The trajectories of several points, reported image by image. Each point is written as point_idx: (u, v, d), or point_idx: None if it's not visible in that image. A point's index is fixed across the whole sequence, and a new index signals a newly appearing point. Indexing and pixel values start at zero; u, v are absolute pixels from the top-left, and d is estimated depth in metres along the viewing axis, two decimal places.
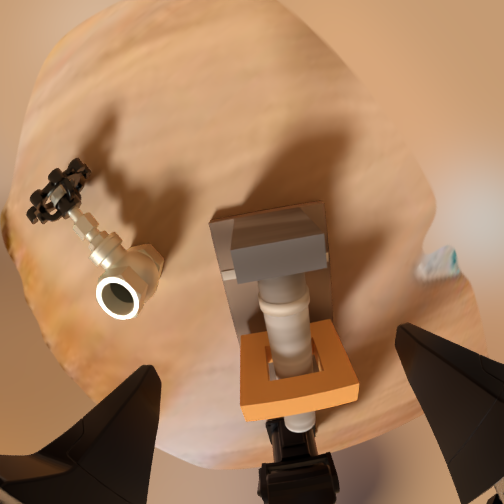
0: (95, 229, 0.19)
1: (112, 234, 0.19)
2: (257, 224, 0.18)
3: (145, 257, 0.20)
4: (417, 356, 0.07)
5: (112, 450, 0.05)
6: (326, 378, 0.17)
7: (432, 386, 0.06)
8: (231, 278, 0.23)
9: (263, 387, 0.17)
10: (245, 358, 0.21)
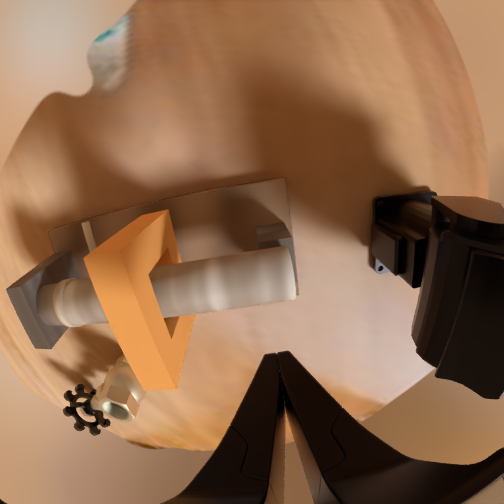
0: None
1: (97, 389, 0.22)
2: None
3: (107, 374, 0.22)
4: (283, 391, 0.07)
5: (277, 453, 0.05)
6: None
7: (293, 427, 0.06)
8: None
9: None
10: None
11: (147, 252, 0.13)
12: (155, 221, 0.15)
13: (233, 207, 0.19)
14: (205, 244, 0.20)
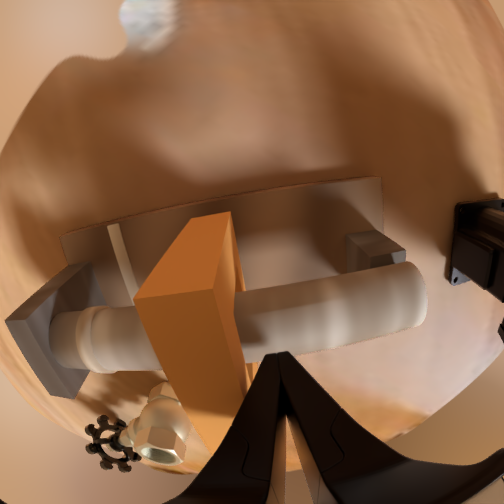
0: None
1: (128, 425, 0.18)
2: None
3: (142, 410, 0.18)
4: (282, 391, 0.07)
5: (278, 453, 0.05)
6: None
7: (292, 427, 0.06)
8: None
9: None
10: None
11: (228, 278, 0.09)
12: (226, 229, 0.11)
13: (322, 209, 0.15)
14: (282, 256, 0.15)
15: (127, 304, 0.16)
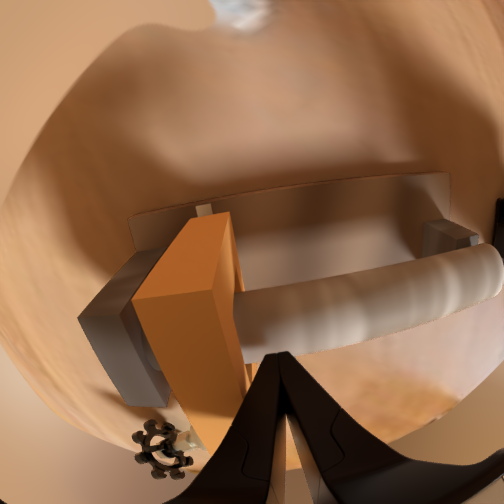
0: (189, 437, 0.18)
1: (191, 428, 0.18)
2: None
3: None
4: (282, 391, 0.07)
5: (278, 453, 0.05)
6: None
7: (293, 427, 0.06)
8: None
9: None
10: None
11: (227, 278, 0.09)
12: (225, 229, 0.11)
13: (407, 198, 0.14)
14: (373, 240, 0.15)
15: None
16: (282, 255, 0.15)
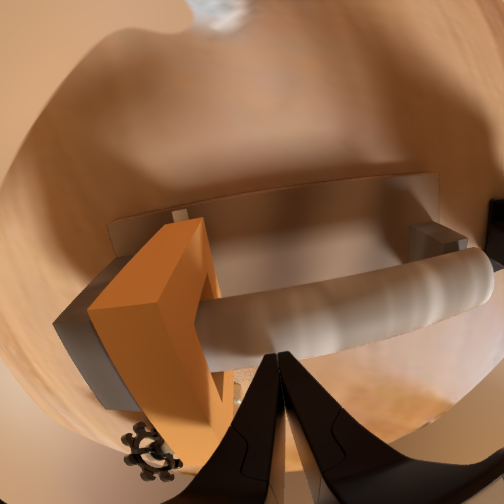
0: None
1: None
2: None
3: None
4: (283, 391, 0.07)
5: (277, 453, 0.05)
6: None
7: (293, 427, 0.06)
8: None
9: None
10: None
11: (189, 288, 0.09)
12: (193, 237, 0.10)
13: (392, 200, 0.14)
14: (356, 245, 0.15)
15: None
16: (260, 260, 0.15)
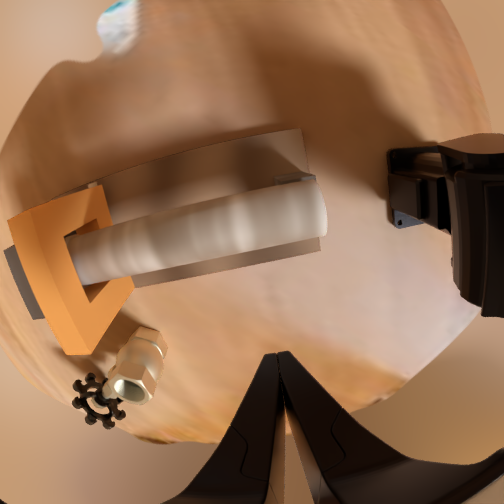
0: None
1: (108, 372, 0.21)
2: None
3: None
4: (283, 391, 0.07)
5: (277, 453, 0.05)
6: None
7: (293, 427, 0.06)
8: None
9: None
10: None
11: (64, 216, 0.12)
12: (80, 192, 0.14)
13: (250, 156, 0.18)
14: (221, 197, 0.19)
15: None
16: (146, 215, 0.19)
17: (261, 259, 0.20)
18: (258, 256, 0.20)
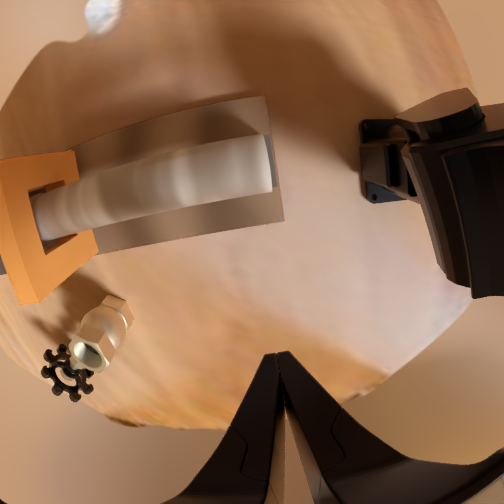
0: None
1: None
2: None
3: (83, 317, 0.20)
4: (283, 391, 0.07)
5: (277, 453, 0.05)
6: None
7: (293, 427, 0.06)
8: None
9: None
10: None
11: (31, 172, 0.12)
12: (50, 153, 0.13)
13: (212, 123, 0.17)
14: None
15: None
16: None
17: (222, 227, 0.20)
18: (218, 224, 0.20)
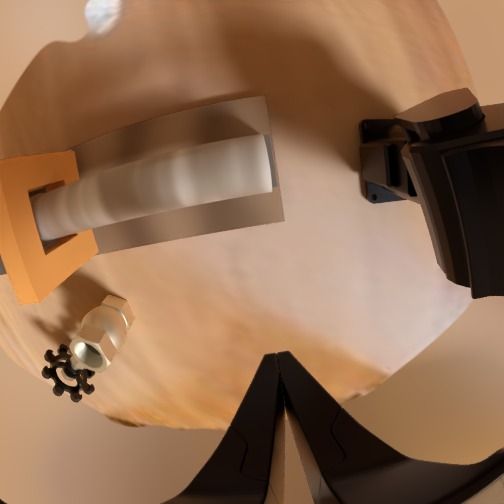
0: None
1: None
2: None
3: (84, 317, 0.20)
4: (283, 391, 0.07)
5: (277, 453, 0.05)
6: None
7: (293, 427, 0.06)
8: None
9: None
10: None
11: (31, 172, 0.12)
12: (50, 153, 0.13)
13: (212, 123, 0.17)
14: None
15: None
16: None
17: (222, 227, 0.20)
18: (218, 224, 0.20)
